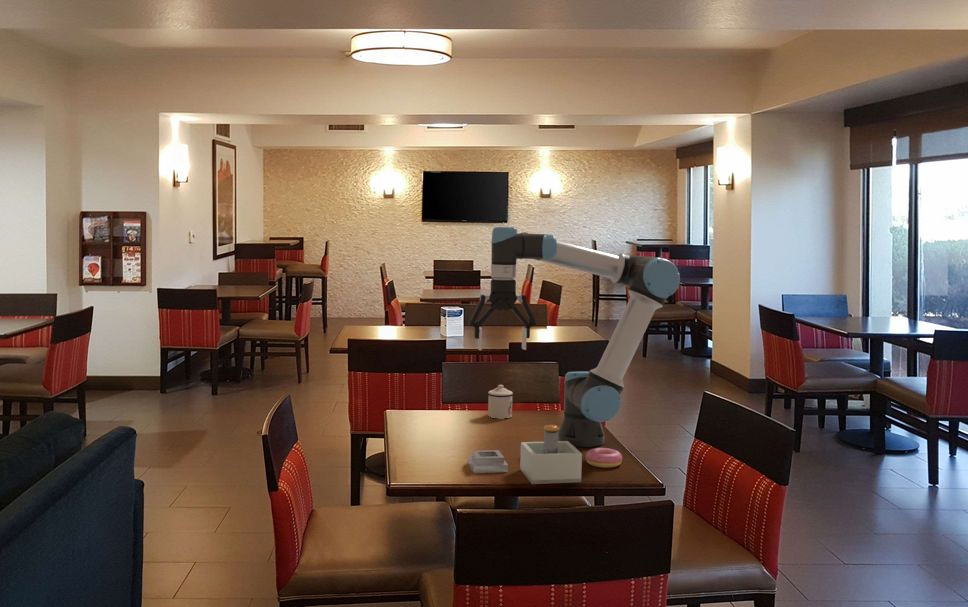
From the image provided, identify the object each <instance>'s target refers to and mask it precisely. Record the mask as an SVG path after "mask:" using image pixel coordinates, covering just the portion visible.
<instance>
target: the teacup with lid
mask: <svg viewBox="0 0 968 607" xmlns="http://www.w3.org/2000/svg"><path fill="white" fill-rule="evenodd" d="M487 395H488V402H487V404H488V405H487V407H488V409H487V410H488V412H487V417H488V416H489V417H488V418H490V417H491V418H490V419H492V418H499V419H498V420H505V419H504V418H509V419H511V418H512V416H513V395H514V393H513V391H512V390H509V389H507V388H506V387H504V385H503V384H498V385H497V387H496V388H494V389H492V390H489V391H488V392H487ZM510 417H511V418H510Z"/></svg>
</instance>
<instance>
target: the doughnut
mask: <svg viewBox="0 0 968 607" xmlns="http://www.w3.org/2000/svg"><path fill="white" fill-rule="evenodd" d="M585 461H586V463H587V464H589V465H590V466H593V467H597V468H601V469H602V468H604V469H607V468H609V469H610V468H616V467H618V466H620V465H621V463H622V461H623V455H622V453H621V452H620V451H619V450H616V449H614V448H613V449H612V448H608V447H596V448H591V449H589V450H588V451H587V452H586V453H585Z"/></svg>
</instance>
